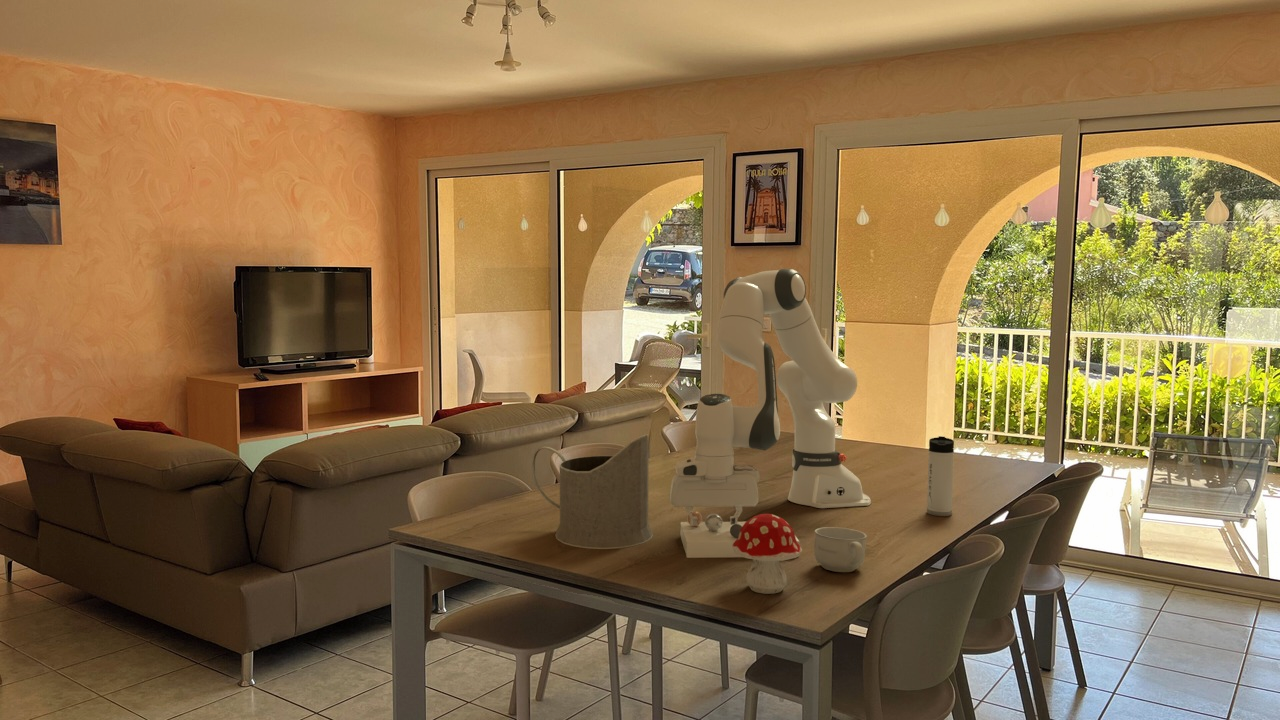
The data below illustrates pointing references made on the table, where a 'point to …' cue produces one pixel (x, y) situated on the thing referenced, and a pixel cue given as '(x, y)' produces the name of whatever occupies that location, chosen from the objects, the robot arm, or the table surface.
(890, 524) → the table surface
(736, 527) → the black rubber ball
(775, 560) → the decorative mushroom
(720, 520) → the steel ball
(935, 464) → the travel mug
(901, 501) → the table surface
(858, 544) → the teacup
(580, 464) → the pitcher
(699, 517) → the terracotta ball
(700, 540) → the white slab
